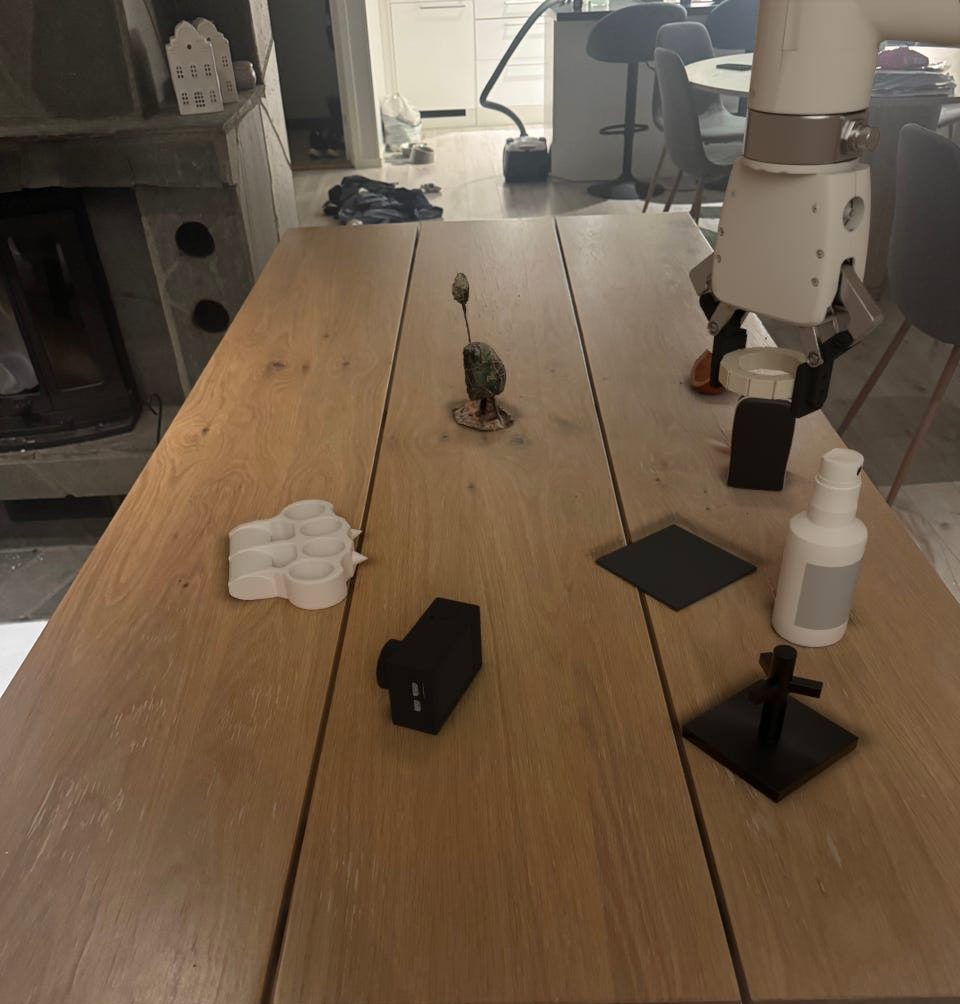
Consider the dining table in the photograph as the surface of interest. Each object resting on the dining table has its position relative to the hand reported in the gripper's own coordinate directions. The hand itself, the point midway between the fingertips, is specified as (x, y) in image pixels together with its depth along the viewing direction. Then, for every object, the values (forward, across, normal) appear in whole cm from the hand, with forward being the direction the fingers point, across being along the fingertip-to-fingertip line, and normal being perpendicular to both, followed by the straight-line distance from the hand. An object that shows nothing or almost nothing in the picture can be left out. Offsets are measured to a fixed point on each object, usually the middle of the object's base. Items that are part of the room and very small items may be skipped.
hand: (764, 395), depth 73 cm
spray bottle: (+26, -2, -10) cm, 28 cm away
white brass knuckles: (+26, +41, +22) cm, 53 cm away
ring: (-1, 0, 0) cm, 1 cm away
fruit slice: (+26, +44, -48) cm, 70 cm away
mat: (+26, +14, -9) cm, 31 cm away
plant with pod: (+26, +57, -16) cm, 65 cm away
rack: (+26, -10, +6) cm, 28 cm away
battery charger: (+26, +21, -30) cm, 45 cm away
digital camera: (+26, +14, +23) cm, 38 cm away
